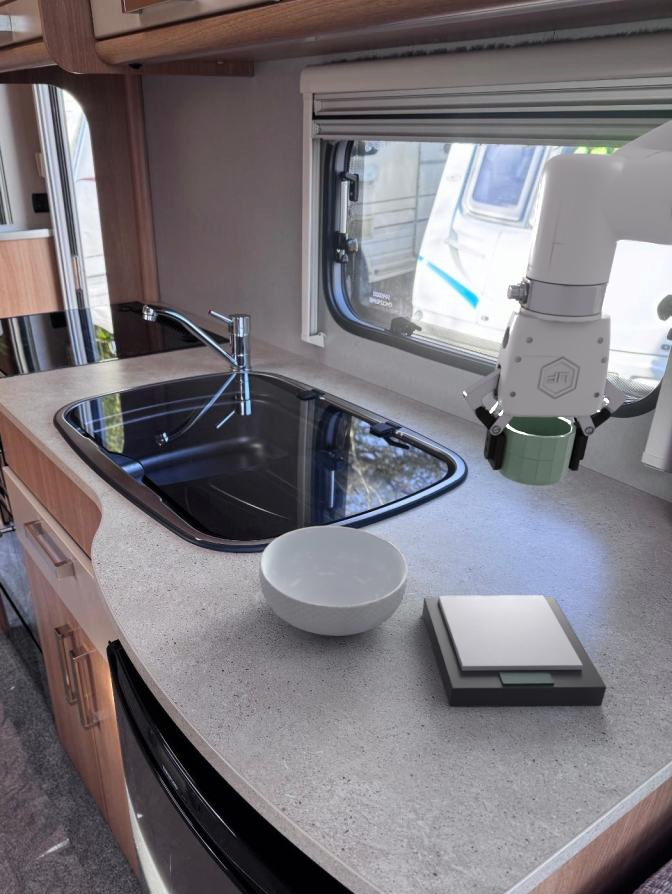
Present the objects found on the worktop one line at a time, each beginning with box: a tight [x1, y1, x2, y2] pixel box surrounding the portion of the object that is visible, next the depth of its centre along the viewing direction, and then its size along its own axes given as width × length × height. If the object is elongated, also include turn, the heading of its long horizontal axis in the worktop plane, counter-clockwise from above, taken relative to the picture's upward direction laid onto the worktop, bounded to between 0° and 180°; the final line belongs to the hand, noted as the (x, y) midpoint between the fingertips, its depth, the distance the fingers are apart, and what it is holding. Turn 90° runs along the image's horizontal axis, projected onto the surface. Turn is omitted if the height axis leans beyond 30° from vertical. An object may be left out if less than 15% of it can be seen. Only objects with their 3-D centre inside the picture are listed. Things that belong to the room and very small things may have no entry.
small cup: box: [498, 416, 577, 487], centre depth 77 cm, size 7×7×6 cm
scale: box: [422, 594, 607, 708], centre depth 77 cm, size 15×15×3 cm
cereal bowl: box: [258, 525, 409, 637], centre depth 82 cm, size 17×17×7 cm
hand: (531, 464), depth 78 cm, fingers closed on small cup, 7 cm apart
